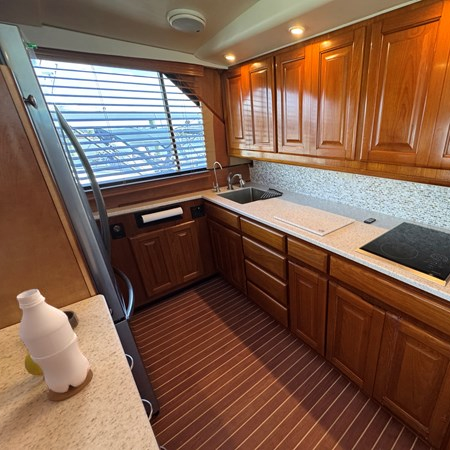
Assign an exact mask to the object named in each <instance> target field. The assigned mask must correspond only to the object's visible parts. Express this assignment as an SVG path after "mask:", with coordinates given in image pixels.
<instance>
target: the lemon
mask: <svg viewBox="0 0 450 450" xmlns="http://www.w3.org/2000/svg"><path fill="white" fill-rule="evenodd" d="M24 368H25V370H26V371H27V373H28V374H30V375H32V376H36V377H37V376H38V377H39V376H44V372H43V370H42V369H41V367H40V366H39V365H38V364H37V363H35V362H34V361H33V360H32V358H31V356H30V353H29V352H28V353H27V355H26V356H25V359H24Z"/></svg>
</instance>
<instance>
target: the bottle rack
mask: <svg viewBox="0 0 450 450" xmlns="http://www.w3.org/2000/svg"><path fill="white" fill-rule="evenodd" d="M61 311H62V312H64V313H65V314H66V316H67V317H68V321H69V323H70V325H71V328H72V330H73V331H74V329H75V328H76V327H77V326H78V325H79V321H80V319H79V317H78V315H77V313H76V312H75V311H74V310H61Z"/></svg>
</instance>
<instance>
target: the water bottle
mask: <svg viewBox="0 0 450 450" xmlns="http://www.w3.org/2000/svg"><path fill="white" fill-rule="evenodd" d="M16 300H17V302H18V305H19V306H18V308H19V309H20V310H22V317H21V320H20V323H19V327H18V337H19V339H20V340H21V341H22V343H23V344H24V346H25V347H26V350H27V351H28V354H29V353H30V356H31V358H32V360H33V361H34V362H35V363H37V364H38V365H39V366H40V367H41V369H42V370H43V372H44V375H43V376H44V382H45V384H46V386H47V387H48V388H49V389H51V390H53V391H55V392H58V393H64V392H66V391H68V389H69V385H72V386H74V387H77V386H79V385H80V384H82V383H83V382H84V380H85V378H86V376H87V374H88V372H89V368H90V363H89V359H88V358H87V357H86V356H84V354H83V353H82V351H81V349H80V347H79V344H78V337H77V336H78V335H76V333H75V331H74V329H73V330H72V328H71V325H70V323H69V319H68V317H67V316H66V314H65V313H64V312H62V311H63V310H60V309H59V308H56V307H54V306H53V305H50V304H48V303H47V302H46V297H44V296H43V295H42V294H41V292H40V290H39V289H37V288H33V289H32V288H31V289H29V290H25V291H23V292H21V293H19V294H17V296H16Z"/></svg>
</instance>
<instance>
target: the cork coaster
mask: <svg viewBox="0 0 450 450" xmlns="http://www.w3.org/2000/svg"><path fill="white" fill-rule="evenodd" d="M93 375H94V372H93V370H92V369H91V368H90V367H89V372H88V374H87V376H86V378H85V380H84V382H83V383H82V384H80V385H79V386H77V387H74V386H72V385H69V389H68V391H66V392H64V393H58V392H55V391H53V390H51V389H50V388H49V390H48V391H47V397H48V399H49V401H51V402H54V403H55V402H62V401H66V400H67V399H68V400H69V399H70V398H72V397H74V396H76V395H77V394H79V393H80V392H81V391H82V390H84V389H85V388H86V387H87V386H88V385H89V384H90V382H91V381H92V379H93V377H94V376H93Z"/></svg>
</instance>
